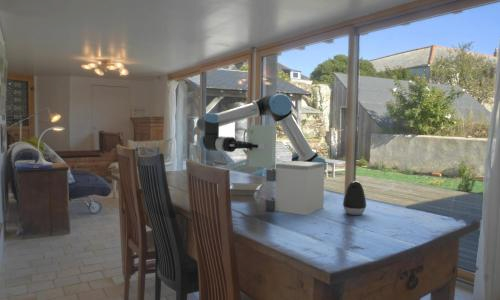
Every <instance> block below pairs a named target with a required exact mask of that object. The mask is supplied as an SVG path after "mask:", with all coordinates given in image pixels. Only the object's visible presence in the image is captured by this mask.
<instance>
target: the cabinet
mask: <svg viewBox="0 0 500 300" xmlns="http://www.w3.org/2000/svg"><path fill="white" fill-rule="evenodd" d="M275 169H276V172H275V181H274V184H275V186H274V198H275V211H274V212H281V213H288V214H295V215H301V216H308V215H310V214H313V213H315V212H317V211H319V210H321V209H324V197H325V196H324V192H325V191H324V189H325V172H324V163H318V162H304V161H292V160H291V161H285V162H279V163H275Z"/></svg>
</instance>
